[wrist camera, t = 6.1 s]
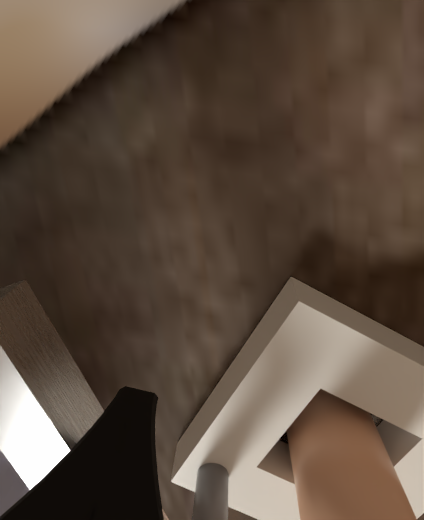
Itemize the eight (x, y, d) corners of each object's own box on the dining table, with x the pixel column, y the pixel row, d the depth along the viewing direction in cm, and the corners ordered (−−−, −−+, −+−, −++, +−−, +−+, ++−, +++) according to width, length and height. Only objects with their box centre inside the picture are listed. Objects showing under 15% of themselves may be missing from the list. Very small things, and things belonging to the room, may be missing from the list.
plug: (269, 425, 22) (286, 592, 14) (313, 368, 20) (360, 522, 13) (335, 456, 22) (386, 633, 15) (384, 403, 21) (468, 571, 13)
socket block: (177, 442, 22) (148, 610, 15) (290, 276, 18) (329, 393, 11) (351, 520, 24) (404, 708, 16) (493, 383, 20) (650, 551, 12)
